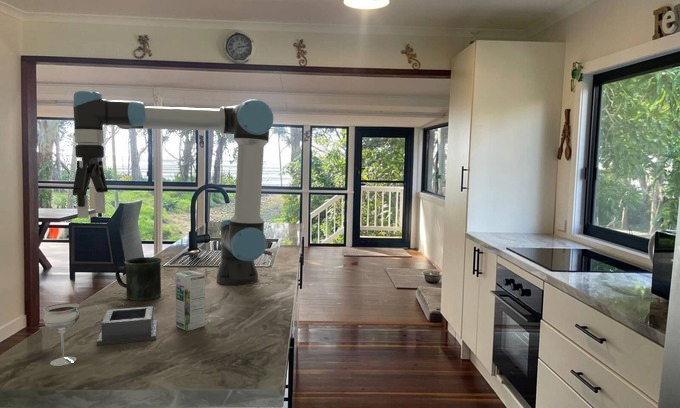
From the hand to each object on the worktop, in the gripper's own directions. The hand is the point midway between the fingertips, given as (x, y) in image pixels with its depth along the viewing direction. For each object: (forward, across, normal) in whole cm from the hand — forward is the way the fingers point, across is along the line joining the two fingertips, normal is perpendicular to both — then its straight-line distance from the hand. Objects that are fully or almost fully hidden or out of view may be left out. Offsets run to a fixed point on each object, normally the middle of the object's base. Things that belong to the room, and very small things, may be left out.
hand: (92, 215), depth 143 cm
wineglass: (+27, +44, +9) cm, 52 cm away
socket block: (+27, +28, +18) cm, 43 cm away
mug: (+28, -7, +11) cm, 30 cm away
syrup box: (+28, +24, +32) cm, 49 cm away
